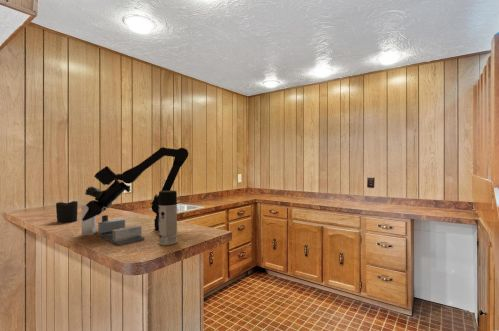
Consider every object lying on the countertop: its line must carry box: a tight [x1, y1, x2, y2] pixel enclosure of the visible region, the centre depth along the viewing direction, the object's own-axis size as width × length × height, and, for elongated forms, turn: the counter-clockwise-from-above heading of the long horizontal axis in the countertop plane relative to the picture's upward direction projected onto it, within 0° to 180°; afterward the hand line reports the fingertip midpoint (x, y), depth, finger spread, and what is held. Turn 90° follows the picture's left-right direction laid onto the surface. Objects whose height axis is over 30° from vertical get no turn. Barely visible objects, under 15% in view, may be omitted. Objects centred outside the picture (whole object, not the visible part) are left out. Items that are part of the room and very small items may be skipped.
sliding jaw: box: [97, 214, 126, 233], centre depth 119 cm, size 11×10×5 cm
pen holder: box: [55, 200, 79, 224], centre depth 140 cm, size 9×9×10 cm
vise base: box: [97, 224, 145, 247], centre depth 110 cm, size 22×10×5 cm, turn 47°
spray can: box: [158, 189, 178, 247], centre depth 102 cm, size 7×7×20 cm
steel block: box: [80, 202, 97, 236], centre depth 115 cm, size 4×5×13 cm
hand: (85, 218), depth 115 cm, fingers closed on steel block, 5 cm apart
